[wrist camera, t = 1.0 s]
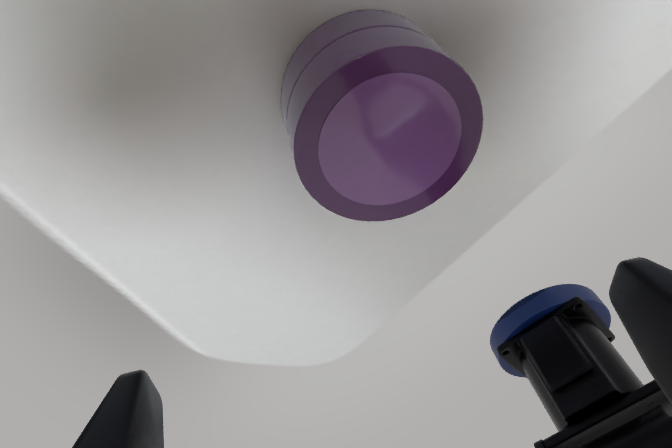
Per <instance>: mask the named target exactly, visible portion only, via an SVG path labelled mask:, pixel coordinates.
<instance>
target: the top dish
mask: <svg viewBox="0 0 672 448" xmlns="http://www.w3.org/2000/svg"><path fill="white" fill-rule="evenodd" d="M482 125H483V113H482V105H481V100H480V96H479V94H478V91H477V89H476V86H475V84H474V83H473V81H472V80H471V78H470V76H469V75H468V74H467V73H466V72H465V70H464V69H463V68H462V67H461V66H460V65H459V64H458V63H457V62H456V61H455V60H454V59H452V58H451V57H450V56H449V55H448V54H447V53H446V52H445V51H444V50H443V49H442V48H441V47H440V46H438V45H437V44H436V43H435V42H434V41H432V40H431V39H429V38H427V37H426V36H424V35H422V34H420V33H417V32H415V31H412V30H408V29H404V28H400V27H374V28H369V29H364V30H360V31H357V32H354V33H351V34H348V35H346V36H344V37H342V38H340V39H338V40H337V41H335V42H334V43H332V44H331V45H329V46H327V47H326V48H325V49H324V50H323V51H321V52H320V53H319V54H318V55H317V56H316V57H315V58H314V59H313V60H312V61H311V62H310V63H309V64H308V66H307V67H306V68H305V70H304V71H303V73H302V74H301V76H300V77H299V79H298V81H297V83H296V85H295V87H294V89H293V92H292V95H291V98H290V102H289V106H288V112H287V131H288V137H289V141H290V145H291V149H292V153H293V158H294V162H295V166H296V170H297V172H298V175H299V177H300V180H301V182H302V183H303V185H304V187H305V189H306V190H307V191H308V192H309V194H310V195H311V196H312V197H313V198H314V199H315V200H316V201H317V202H318V203H319V204H321V205H322V206H324V207H325V208H326V209H328V210H330V211H332V212H334V213H336V214H338V215H340V216H343V217H346V218H350V219H354V220H360V221H385V220H392V219H396V218H401V217H404V216H407V215H410V214H413V213H415V212H417V211H419V210H421V209H423V208H425V207H427V206H429V205H430V204H432V203H434V202H435V201H436V200H438V199H439V198H441V197H442V196H443V195H444V194H446V193H447V192H448V191H449V190H450V189H451V188H452V187H453V186H454V185H455V184H456V183H457V182H458V181H459V179H460V178H461V177H462V176H463V174H464V173H465V172H466V170H467V168H468V167H469V165H470V164H471V162H472V160H473V158H474V156H475V153H476V151H477V148H478V145H479V142H480V138H481V133H482Z"/></svg>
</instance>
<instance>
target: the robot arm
mask: <svg viewBox="0 0 672 448" xmlns="http://www.w3.org/2000/svg"><path fill="white" fill-rule="evenodd" d="M609 296H610V300H611V303H612V305H613V307H614V308H615V310H616V312H617V314H618V315H619V317H620V319H621V321H622V323H623V325H624V326H625V328H626V330H627V332H628V334H629V336H630V338H631V339H632V341H633V343H634V345H635V347H636V348H637V350H638V352H639V354H640V356H641V358H642V359H643V361H644V363H645V365H646V366H647V368H648V370H649V371H650V373H651V374H652V376H653V377H654V379H655V380H653V381H651V382H650V383H648V384H646V385H643V384H642V382H641V381H640V380H639V379H638V377H637V376H636V375H635V374H634V372H633V371H632V370H631V368H630V367H629V366H628V365H627V363H626V362H625V361H624V359H623V358H622V357H621V356H620V354H619V353H618V352H617V350H616V349H615V348H614V347H613V345H612V344H611V342H612V341H613V340H614V339H615V336H614V335H613V333H612V332H611V331H610V330H609V329H608V327H607V326H606V325H605V324H604V323H603V322H602V320H601V319H600V318H599V317H598V316H597V315H596V314H595V312H594V311H593V310H592V309H591V308H590V307H589V305H588V304H587V303H586V302H585V301H584V300H583V299H582V297H578V296H577V297H574V298H572V299H570V300H569V301H567V302H566V303H564V304H563V305H561V306H560V307H558V308H556V309H555V310H553V311H552V312H550V313H549V314H547V315H546V316H544V317H543V318H541V319H539V320H538V321H536V322H535V323H533V324H532V325H530V326H529V327H527V328H525V329H524V330H522V331H521V332H519V333H518V334H516V335H515V336H513V337H512V338H510V339H508V340H507V341H505V342H504V343H502V344H501V345H499V346H498V347H497V349H496V351H497V353H498V355H499V356H500V357H501V358H502V359H503V360H505V361H506V362H507V363H509V364H510V365H511V366H512V367H514V368H515V369H516V370H518V371H519V372H520V373H521V374H523V375H524V376H525V377H526V378H528V379H529V381H530V383H531V385H532V386H533V388H534V390H535V392H536V393H537V395H538V397H539V398H540V400H541V402H542V404H543V405H544V407H545V409H546V411H547V412H548V414H549V416H550V417H551V419H552V421H553V423H554V424H555V426H556V428H557V430H558V431H559V432H557V433H556V434H554V435H552V436H550V437H548V438H547V439H545V440H539V441H538V442H536V443H534V446H535V448H672V270H670V269H668V268H665V267H663V266H661V265H659V264H657V263H655V262H652V261H650V260H648V259H645V258H640V257H639V258H633V259H629V260H625V261H622V262H620V263H619V264H618V266H617V268H616V271H615V274H614V277H613V280H612V283H611V286H610V291H609ZM163 437H164V436H163V408H162V400H161V397H160V394H159V392H158V391H157V389H156V388H155V386H154V384H153V382H152V381H151V379H150V377H149V376H148V374H147V373H146V372H145V371H143V370H138V371H133V372H129V373H125V374H122V375H120V376H119V377H118V378H117V380H116V381H115V383H114V384H113V386H112V387H111V389H110V390H109V392H108V393H107V395H106V396H105V398H104V399H103V401H102V402H101V404H100V406H99V407H98V409H97V410H96V412H95V413H94V415H93V416H92V418H91V419H90V421H89V422H88V424H87V425H86V427H85V429H84V430H83V432H82V433H81V435H80V436H79V438H78V439H77V441H76V442H75V444H74V446H73V447H72V448H164V438H163Z"/></svg>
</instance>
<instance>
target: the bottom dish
mask: <svg viewBox="0 0 672 448" xmlns="http://www.w3.org/2000/svg"><path fill="white" fill-rule="evenodd" d="M374 27H400V28H404V29H408V30H412V31H415V32H417V33H420V34H422V35H424V36H426V37H427V38H429V39H431V38H430V37H429V36H428V35H427V34H426V33H425V32H424V31H423V30H422V29H420V28H419V27H418V26H417V25H416V24H414V23H413V22H411V21H410V20H408V19H406V18H405V17H402V16H400V15H397V14H395V13H391V12H387V11H381V10H360V11H355V12H350V13H347V14H344V15H341V16H338V17H336V18H334V19H332V20H330V21H328V22H326V23H324V24H323V25H321V26H320V27H318V28H317V29H316V30H315V31H313V32H312V33H311V34H310V35H309V36H308V37H307V38H306V39H305V40H304V41H303V42H302V43H301V45H300V46H299V47H298V49H297V50H296V52H295V53H294V54H293V56H292V58H291V60H290V62H289V64H288V66H287V69H286V72H285V75H284V78H283V83H282V89H281V106H282V112H283V117H284V121H285V125H286V129H287V112H288V106H289V102H290V98H291V95H292V92H293V89H294V87H295V85H296V83H297V81H298V79H299V77H300V76H301V74H302V73H303V71H304V70H305V68H306V67H307V66H308V64H309V63H310V62H311V61H312V60H313V59H314V58H315V57H316V56H317V55H318V54H319V53H320V52H321V51H323V50H324V49H325V48H326V47H327V46H329V45H331V44H332V43H334V42H335V41H337V40H338V39H340V38H342V37H344V36H346V35H348V34H351V33H354V32H357V31H360V30H364V29H369V28H374ZM431 40H432V39H431ZM432 41H433V40H432ZM436 44H437V43H436ZM437 45H438V44H437ZM438 46H439V45H438ZM287 133H288V131H287Z"/></svg>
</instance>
